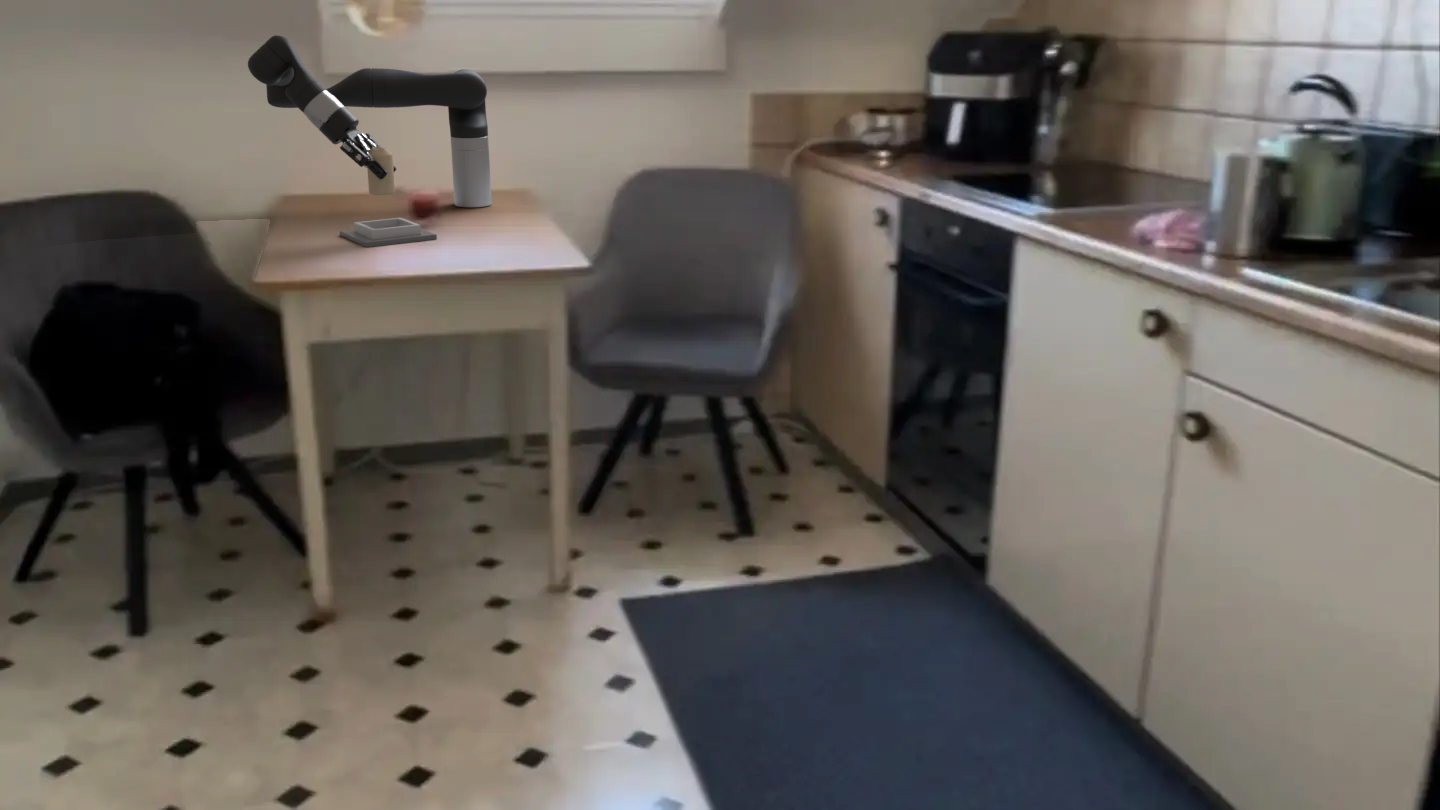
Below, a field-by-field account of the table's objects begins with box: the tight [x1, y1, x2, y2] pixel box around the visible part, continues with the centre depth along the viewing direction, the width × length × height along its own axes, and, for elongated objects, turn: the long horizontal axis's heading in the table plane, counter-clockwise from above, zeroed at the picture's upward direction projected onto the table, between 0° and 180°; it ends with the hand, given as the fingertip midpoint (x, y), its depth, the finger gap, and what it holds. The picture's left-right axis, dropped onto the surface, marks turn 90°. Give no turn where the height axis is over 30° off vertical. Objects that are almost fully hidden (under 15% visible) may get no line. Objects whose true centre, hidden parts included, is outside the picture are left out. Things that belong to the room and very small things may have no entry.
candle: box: [366, 147, 396, 196], centre depth 270 cm, size 6×6×10 cm
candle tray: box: [339, 217, 438, 248], centre depth 275 cm, size 16×16×3 cm
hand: (388, 174), depth 270 cm, fingers closed on candle, 5 cm apart
